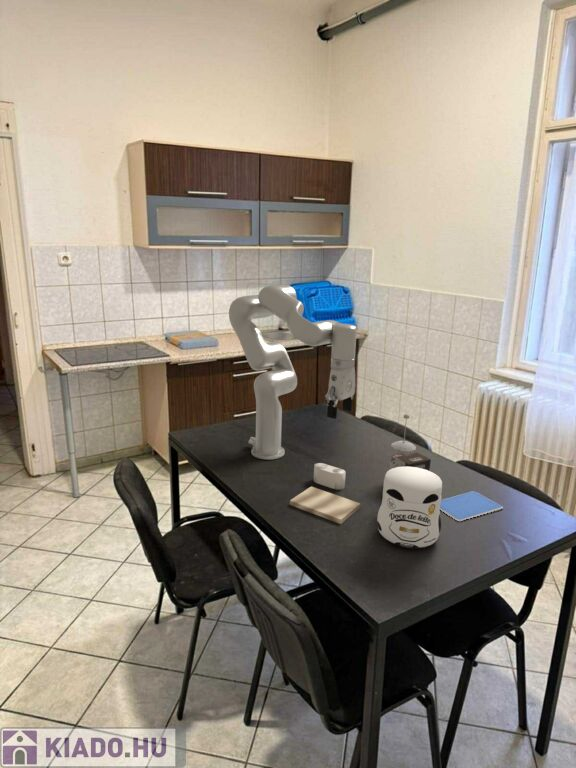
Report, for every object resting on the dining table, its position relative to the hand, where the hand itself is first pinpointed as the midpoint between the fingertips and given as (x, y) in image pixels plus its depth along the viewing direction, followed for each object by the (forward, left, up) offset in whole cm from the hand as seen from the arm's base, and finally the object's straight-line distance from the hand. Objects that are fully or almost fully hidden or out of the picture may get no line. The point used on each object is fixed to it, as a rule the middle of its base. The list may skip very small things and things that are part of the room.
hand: (339, 413), depth 176 cm
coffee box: (+26, 0, -24) cm, 36 cm away
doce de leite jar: (+33, -17, -24) cm, 45 cm away
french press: (+18, +13, -24) cm, 33 cm away
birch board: (+6, -17, -24) cm, 30 cm away
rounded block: (-1, -3, -24) cm, 24 cm away
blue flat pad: (+41, +11, -25) cm, 50 cm away
